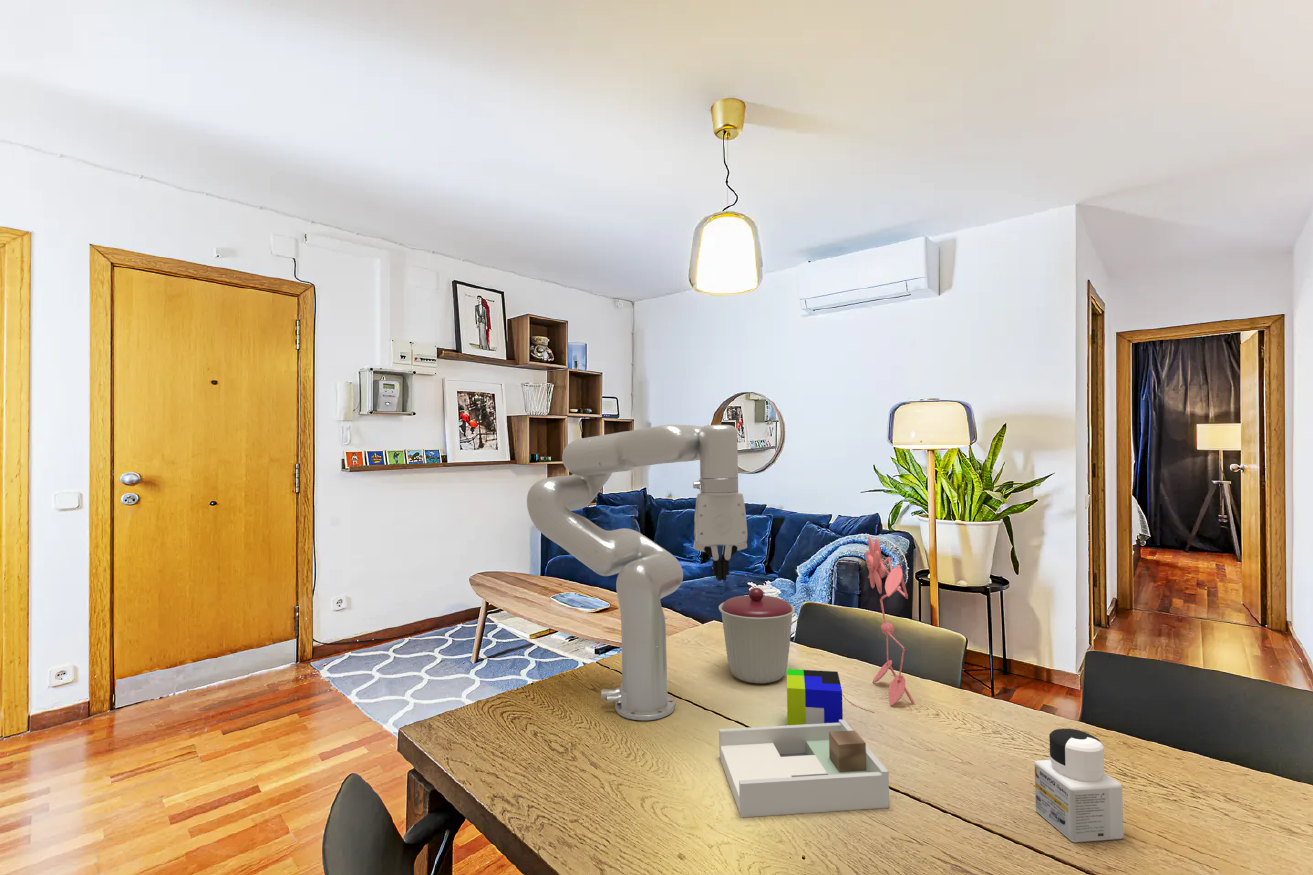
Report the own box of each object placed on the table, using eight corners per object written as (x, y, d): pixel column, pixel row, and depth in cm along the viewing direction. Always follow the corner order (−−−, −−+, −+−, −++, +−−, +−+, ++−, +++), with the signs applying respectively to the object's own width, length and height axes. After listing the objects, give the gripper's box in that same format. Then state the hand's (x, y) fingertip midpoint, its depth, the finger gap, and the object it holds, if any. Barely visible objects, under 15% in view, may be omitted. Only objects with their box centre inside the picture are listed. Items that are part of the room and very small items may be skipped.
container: (1034, 810, 94) (1032, 724, 94) (1082, 807, 95) (1080, 721, 95) (1072, 843, 86) (1070, 749, 86) (1124, 839, 87) (1122, 746, 87)
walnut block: (839, 772, 101) (838, 744, 101) (829, 758, 106) (828, 731, 106) (866, 770, 101) (865, 743, 101) (855, 756, 106) (854, 730, 106)
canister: (796, 665, 156) (795, 580, 157) (796, 693, 139) (794, 598, 139) (724, 660, 161) (723, 578, 161) (715, 687, 143) (713, 595, 143)
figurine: (895, 673, 150) (889, 527, 150) (931, 721, 124) (923, 545, 124) (830, 673, 151) (824, 528, 152) (851, 721, 126) (844, 547, 126)
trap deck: (741, 817, 94) (740, 780, 94) (719, 757, 112) (719, 726, 112) (889, 807, 95) (888, 771, 95) (844, 749, 113) (844, 719, 113)
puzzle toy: (843, 745, 115) (842, 691, 115) (787, 741, 117) (786, 687, 117) (838, 721, 125) (837, 671, 125) (787, 717, 127) (786, 668, 127)
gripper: (684, 489, 120) (685, 584, 120) (760, 487, 121) (762, 582, 121) (679, 486, 127) (681, 576, 127) (751, 484, 128) (753, 574, 128)
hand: (720, 579), depth 124 cm, fingers closed
